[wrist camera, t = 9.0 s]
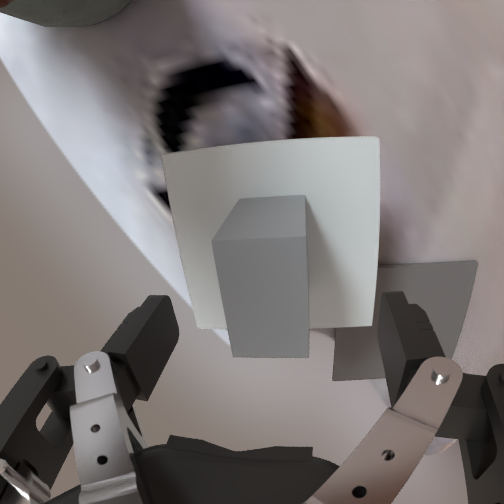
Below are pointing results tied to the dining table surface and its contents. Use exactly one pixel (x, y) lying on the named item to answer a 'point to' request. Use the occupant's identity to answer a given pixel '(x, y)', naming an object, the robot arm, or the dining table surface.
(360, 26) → the dining table surface
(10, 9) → the bottle
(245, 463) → the robot arm
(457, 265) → the mat
